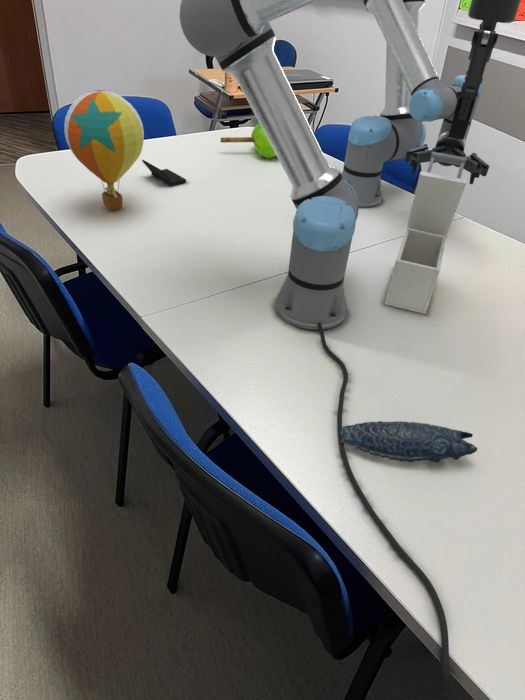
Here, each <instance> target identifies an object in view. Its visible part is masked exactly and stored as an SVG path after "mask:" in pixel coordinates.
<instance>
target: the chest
mask: <svg viewBox="0 0 525 700" xmlns="http://www.w3.org/2000/svg"><path fill="white" fill-rule="evenodd" d="M446 240H447V236H442V235H437V234H433V233H428V232H424V231H419V230H414V229H410V228H405V231H404V235H403V238H402V241H401V244H400V247H399V249H398V253H397V255H396V258H395V261H394V265H393V270H392V273H391V277H390V281H389V284H388V289H387V291H386V296H385V299H384V305H387V306H390V307H394V308H399V309H402V310H407V311H411V312H415V313H418V314H424V315H426V314H427V311H428V308H429V305H430V302H431V299H432V296H433V293H434V290H435V287H436V284H437V281H438V278H439V276H440V273H441V268H442V261H443V256H444V250H445V247H446V242H447V241H446Z"/></svg>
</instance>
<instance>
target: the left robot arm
mask: <svg viewBox="0 0 525 700" xmlns="http://www.w3.org/2000/svg"><path fill="white" fill-rule="evenodd" d="M317 1H318V0H181V1H180V6H179V22H180V28H181V30H182V33H183V36H184V37H185V39H186V40H187V42H188V43H189V45H190V46H191V47H192V48H193V49H195V50H196V51H197V52H199V54H202V55H205V56H209V57H214V58H215V60H216V61H217V63H218V65H219V67H220V69H221V70H222V72H223V73H226V74H228V75H231V76H233V77H234V78H235V80H236V82H237V84H238V85H239V87H240V89H241V91H242V93H243V95H244V97H245V99H246V101H247V103H248V104H249V107H250V108H251V110H252V112H253V114H254V116H255V118H256V120H257V121H258V124H259V123H260V125H261V127H262V129H263V131H264V133H265V135H266V137H267V139H268V141H269V142H270V144H271V146H272V148H273V150H274V152H275V154H276V156H275V157H277V160H278V161H279V163H280V165H281V167H282V169H283V172H284V173H285V175H286V176H287V178H288V181H289V183H290V184H291V187H292V188H291V191H290V195H289V198H290V199H291V201H292V204H293V205H294V207H295V209H296V210H295V215H294V217H293V219H292V237H291V246H290V255H289V262H288V263H289V264H288V270H287V271H288V272H287V275H286V278H285V279H284V282H283V283H282V285H281V287H280V290H279V291H278V294H277V296H276V301H275V311H276V313H277V315H278V316H279V317H280V318H281V319H282V320H283V321H284V322H286V323H287V324H289V325H291V326H293V327H296V328H300V329H304V330H310V331H318V332H319V335H320V340H321V345H322V347H323V349H324V351H325V352H326V353H327V355H328V356H329V357H330V358H332V359H333V360H334V361H335V362H336V363H337V364H338V366H340V368H341V370H342V374H343V379H342V384H341V387H340V392H339V397H338V407H337V408H338V409H337V415H336V416H337V418H336V422H337V423H336V424H337V425H336V426H337V427H336V429H337V441H338V447H339V448H338V449H339V452H340V453H339V454H340V457H341V460H342V464H343V466H344V468H345V469H344V470H345V471H346V474H347V477H348V479H349V481H350V483H351V485H352V487H353V489H354V491H355V492H356V494H357V496H358V497H359V500H360V501H361V503H362V504H363V506H364V508H365V509H366V511H367V512H368V514H369V515H370V517H371V518H372V519H373V521H374V522H375V524H376V525H377V526H378V528H379V529H380V530H381V532H382V533H383V535H384V536H385V538H387V540H388V541H389V543H390V544H391V545H392V546H393V548H394V549H395V551H397V553H398V554H399V555H400V556H401V558H402V559H403V560H404V561H405V562H406V563H407V564H408V566H410V568H411V569H412V570H413V571H414V573H415V574H417V576H418V577H419V578H420V580H421V582H422V583H423V584H424V586H425V588H426V589H427V591H428V592H429V594H430V597H431V599H432V601H433V604H434V607H435V609H436V613H437V617H438V621H439V628H440V644H441V647H440V648H441V676H442V677H443V678H444V679H445V680H448V679H450V678H449V677H450V645H449V644H450V643H449V642H450V641H449V630H448V629H449V628H448V623H447V618H446V614H445V611H444V608H443V605H442V602H441V600H440V597H439V595H438V593H437V591H436V589H435V587H434V585H433V584H432V582H431V580H430V579H429V578H428V576H427V574H425V572H423V570H422V569H421V567H420V566H418V565H417V563H416V562H415V561H414V560H413V559H412V558H411V557H410V555H409V554H407V552H406V551H405V550H404V548H403V547H402V546H401V545H400V544H399V542H398V540H397V539H396V538H395V537H394V535H393V534H392V533H391V532H390V530H389V529H388V528H387V526H386V525H385V524H384V523H383V521H382V520H381V519H380V517H379V516H378V514H377V513H376V511H375V510H374V508H373V506H372V505H371V504H370V502H369V501H368V499H367V498H366V496H365V494H364V492H363V490H362V489H361V487H360V485H359V483H358V481H357V479H356V477H355V475H354V472H353V470H352V467H351V464H350V462H349V459H348V456H347V452H346V448H345V443H342V442H341V439H342V437H341V434H340V432H341V429H342V427H343V411H344V409H343V408H344V400H345V392H346V389H347V385H348V380H349V372H348V369H347V366H346V365H345V363H344V362H343V361H342V360H341V359H340V358H339V357H338V356H337V355H336V354H335V353H334V352H333V351H332V350H331V349H330V348H329V346H328V344H327V341H326V336H325V332H324V330H325V331H326V330H329V329H333V328H336V327H337V326H339V325H340V324H342V323H343V322H344V320H345V318H346V315H347V310H348V309H347V308H348V307H347V306H348V305H347V297H346V292H345V286H344V280H345V275H346V271H347V267H348V266H347V265H348V260H349V257H350V251H351V245H352V241H353V236H354V235H355V230H356V224H357V220H358V218H359V217H358V216H359V211H360V210H359V209H360V207H359V206H358V199H357V195H356V193H355V191H354V189H353V188H352V187H351V185H350V184H348V183H347V182H346V181H344V179H343V177H342V175H341V174H342V172H341V170H340V169H339V168H338V167H335V166H332V165H330V164H329V163H328V160H327V159H326V157H325V155H324V153H323V151H322V149H321V146H320V144H319V142H318V140H317V138H316V136H315V134H314V132H313V130H312V128H311V125H310V124H309V122H308V119H307V117H306V115H305V113H304V111H303V109H302V107H301V105H300V103H299V100H298V99H297V96H296V95H295V92H294V90H293V88H292V86H291V84H290V82H289V80H288V78H287V75H286V74H285V71H284V69H283V68H282V65H281V63H280V61H279V60H278V57H277V55H276V53H275V50H274V49H275V43H276V40H277V36H276V34H275V32H274V29H273V27H272V25H271V23H270V22H272V21H274V20H276V19H278V18H281V17H283V16H285V15H288V14H290V13H292V12H295V11H296V10H299V9H301V8H303V7H306V6H308V5H310V4H312V3H313V4H314V3H315V2H317ZM521 1H522V0H471V2H470V5H469V9H468V12H467V15H468V18H470V19H471V20H477V21H481V22H480V24H479V26H478V28H479V30H474V31H473V35H472V37H471V38H472V39H471V41H470V45H471V47H470V51H469V54H468V61H469V63H468V68H467V70H466V72H465V82H463V86H462V89H461V92H458V91H457V94H456V97H457V98H459V100H458V103H457V107H456V110H455V114H454V117H453V121H452V125H451V128H450V132H449V135H448V137H450V138H456V139H462V140H464V136H465V133H466V130H467V127H468V123H469V120H470V117H471V114H472V110H473V107H474V104H475V101H476V98H477V96H478V90H479V86H480V84H482V82H484V81H483V80H484V77H483V76H484V72H485V69H486V66H487V63H489V62H490V59H491V56H492V54H493V50H494V49H495V47H496V44H497V41H498V38H499V33H497V32H496V27H497V24H498V23H500V24H501V23H502V24H511V23H513V22H515V19H516V17H517V14H518V10H519V8H520V5H521Z"/></svg>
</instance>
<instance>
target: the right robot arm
mask: <svg viewBox="0 0 525 700" xmlns="http://www.w3.org/2000/svg"><path fill="white" fill-rule="evenodd" d="M362 2H363V5H364V7H365V9H366V11H367V12H368V13H372V14H373V16H374V18H375V20H376V23H377V25H378V27H379V29H380V31H381V34H382V36H383V38H384V40H385V42H386V50H385V51H386V53H385V54H386V55H385V56H386V57H385V58H386V59H385V95H384V100H385V101H384V108H383V109H382V111H381V112H380V113H379V115H365V116H360V117H358V118H356V119H354V121H353V122H352V123H351V125H350V128H349V132H348V135H347V144H346V151H345V156H344V163H343V168H342V172H341V175H342V177H343V179H344V181H346V182H347V183H348V184H350V185H351V187H352V188H353V189H354V191H355V193H356V195H357V199H358V206H359V208H371V207H376V206H378V205H380V204H381V203H382V199H383V188H384V187H383V184H382V172H383V167H384V163H387V162H391V161H396V160H397V161H398V160H403V161H404V162H406V163H407V162H409V166H410V167H412V170H411V173H412V174H416V171H417V169H418V167H419V164H423V163H430V157H431V154H432V152H437V153H443V154H449V155H454V156H460V157H465V158H467V159H466V163H465V166H464V167H463V170H465V171H466V172H468V173H470V177H469V182H468V183H469V185H474V182H475V179H479V178H480V176H482V177H487V175H488V173H489V172H488V171H489V169H490V164H488V163H487V162H485V161H484V160H483V159H482V158H481V157H479V156H478V154H477V153H476V152H472V153H471V154H469V155H467V154H466V153H465V148H466V142H467V138H468V135H469V132H470V129H471V125H472V123H473V122H472V121H473V118H474V115H475V113H476V110H477V106H478V103H479V99H480V97H481V93H482V89H483V83H484V81H482V84H480V86H479V90H478V96H477V98H476V101H475V104H474V107H473V110H472V114H471V117H470V120H469V123H468V127H467V130H466V133H465V136H464V140H462V139H456V138H450V137H448V135H449V132H450V128H451V125H452V121H453V117H454V114H455V110H456V107H457V103H458V100H459V98H457V97H456V94H457V91H458V92H461V89H462V86H463V82H465V76H466V74H465V75H464V74H463V75H461V74H460V75H457V76H456V77H455V78H454V80H453V82H452V84H451V86H445V87H444V86H443V84H442V82H441V80H440V78H439V75H438V73H437V71H436V69H435V67H434V65H433V63H432V62H433V61H431V59H430V56H429V54H428V52H427V50H426V48H425V45H424V43H423V41H422V39H421V36H420V34H419V15H420V14H419V12H420V10H421V9H422V8H423V7H424V6H425V3H426V0H362ZM438 120H442V123H441V125H440V130H439V133H438V136H437V139H436V143H435V146H433V148H430V147H429V146H428V144H427V143H425V140H426V137H427V136H426V135H427V134H426V133H427V131H426V125H425V124H424V123H425V122H427V123H428V122H429V123H431V122H434V121H438ZM435 163H438V164H439V165H440V166H442V167H452V166H454V167H456V168H460V165H456V164H451V163H446V162H440V161H435V160H434V162H433V164H435Z"/></svg>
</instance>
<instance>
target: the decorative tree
mask: <svg viewBox="0 0 525 700" xmlns="http://www.w3.org/2000/svg"><path fill="white" fill-rule="evenodd" d="M220 143H252V144H253V145H254V148H255V149H256V151H257V153H258V154H259V156H262V157H264V158H266V159H272V158H274V157H277V156H276V154H275V152H274V150H273V148H272V146H271V144H270V142H269V141H268V139H267V137H266V135H265V133H264V131H263V129H262V127H261V125H260V123H259V122H258V123H257V124H255V126H254V128H253V129H252V131H251V136H246V137H245V136H244V137H243V136H241V137H239V136H238V137H237V136H236V137H235V136H234V137H232V136H231V137H227V136H226V137H220Z"/></svg>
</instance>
